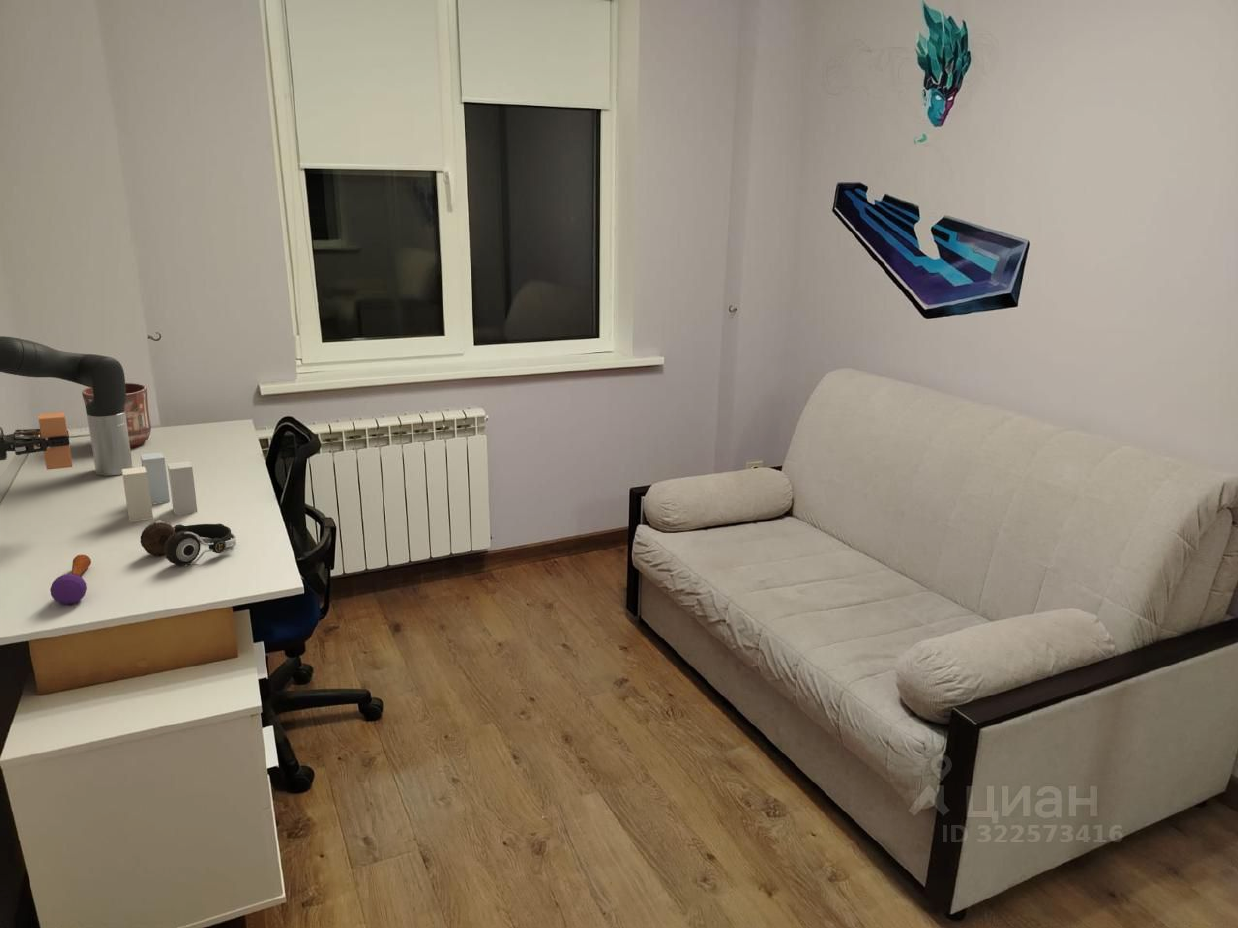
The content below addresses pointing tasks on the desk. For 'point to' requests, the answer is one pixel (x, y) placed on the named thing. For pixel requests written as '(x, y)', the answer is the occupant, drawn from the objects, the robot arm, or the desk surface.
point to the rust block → (51, 428)
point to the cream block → (137, 493)
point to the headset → (185, 540)
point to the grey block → (182, 487)
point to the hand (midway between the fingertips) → (68, 437)
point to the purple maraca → (71, 582)
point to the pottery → (132, 412)
